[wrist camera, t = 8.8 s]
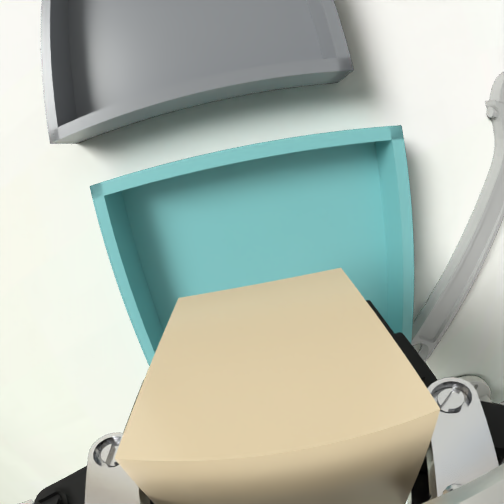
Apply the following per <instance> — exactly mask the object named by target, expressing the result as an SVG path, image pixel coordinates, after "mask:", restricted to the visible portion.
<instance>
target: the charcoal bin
mask: <svg viewBox="0 0 504 504" xmlns="http://www.w3.org/2000/svg"><path fill="white" fill-rule="evenodd" d="M41 63H42V80H43V92H44V102H45V111H46V119H47V126H48V133H49V140H50V144H77V143H79V142H82V141H84V140H87V139H90V138H92V137H95V136H98V135H100V134H103V133H106V132H109V131H111V130H114V129H117V128H120V127H123V126H126V125H129V124H132V123H135V122H138V121H142V120H145V119H148V118H151V117H155V116H158V115H162V114H165V113H169V112H172V111H176V110H180V109H184V108H188V107H192V106H196V105H200V104H204V103H208V102H213V101H217V100H222V99H227V98H231V97H237V96H242V95H247V94H253V93H258V92H264V91H270V90H277V89H284V88H291V87H299V86H307V85H316V84H327V83H338V82H339V81H340V80H342V79H343V78H344V77H346V76H347V75H348V74H349V73H351V72H352V71H353V70H354V69H353V65H352V61H351V57H350V53H349V49H348V46H347V42H346V39H345V35H344V32H343V28H342V25H341V22H340V18H339V15H338V12H337V9H336V6H335V3H334V0H42V6H41Z"/></svg>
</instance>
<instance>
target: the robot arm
mask: <svg viewBox="0 0 504 504" xmlns="http://www.w3.org/2000/svg"><path fill="white" fill-rule="evenodd" d="M366 302H367V303H368V304H369V306H370V307H371V308H372V310H373V311H374V312H375V314H376V315H377V317H378V318H379V319H380V321H381V322H382V323H383V325H384V326H385V328H386V329H387V330H388V332H389V333H390V335H391V336H392V338H393V339H394V340H395V342H396V343H397V345H398V346H399V348H400V349H401V350H402V352H403V353H404V355H405V356H406V358H407V359H408V361H409V362H410V364H411V365H412V366H413V368H414V369H415V371H416V372H417V374H418V375H419V377H420V378H421V380H422V381H423V383H424V384H425V386H426V387H427V389H428V390H429V392H430V394H431V395H432V397H433V398H434V400H435V401H436V403H437V404H438V406H439V407H440V412H439V416H438V419H437V422H436V426H435V429H434V432H433V435H432V438H431V441H430V444H429V447H428V450H427V452H426V455H425V458H424V461H423V463H422V466H421V468H420V471H419V473H418V476H417V478H416V481H415V483H414V485H413V488H412V490H411V492H410V494H409V497H408V504H504V401H503V402H501V403H500V404H496V403H493V402H492V401H491V390H490V387H489V386H488V385H487V383H486V382H485V381H484V380H483V379H481V378H480V377H477V376H463V377H459V378H455V377H448V378H443V379H439V380H437V379H436V377H435V376H434V374H433V373H432V372H431V370H430V369H429V367H428V366H427V365H426V363H425V362H424V361H423V359H422V358H421V357H420V355H419V354H418V353H417V351H416V350H415V349H414V347H413V346H412V345H411V343H410V342H409V341H408V339H407V338H406V337H405V335H404V334H403V333H401V332H398V333H394V332H393V330H392V329H391V328H390V326H389V325H388V324H387V322H386V321H385V320H384V318H383V317H382V316H381V314H380V313H379V312H378V310H377V309H376V308H375V306H374V305H373V304H372V302H371V301H370V300H366ZM143 382H144V381H143ZM142 384H143V383H142ZM141 387H142V385H141ZM140 389H141V388H140ZM139 392H140V390H139ZM138 394H139V393H138ZM137 397H138V395H137ZM136 399H137V398H136ZM135 402H136V401H135ZM134 405H135V403H134ZM133 407H134V406H133ZM132 410H133V408H132ZM131 412H132V411H131ZM130 415H131V414H130ZM129 418H130V416H129ZM128 420H129V419H128ZM127 423H128V422H127ZM126 426H127V424H126ZM125 428H126V427H125ZM124 431H125V429H124ZM123 434H124V432H123V433H110V434H107V435H104V436H103V437H101V438H99V439H98V440H97V441H96V442H95V443H93V445H92V447H91V448H90V450H89V454H88V462H87V466H86V467H84V468H82V469H80V470H78V471H77V472H75V473H73V474H71V475H69V476H67V477H65V478H64V479H62V480H60V481H58V482H56V483H54V484H52V485H50V486H48V487H46V488H45V489H43V490H42V491H41V492H40V493H39V494H38V495H37V497H36V499H35V501H34V502H33V501H32V500H28V501H25V502H22V503H19V504H154V503H153V502H152V501H151V500H150V499H149V497H148V496H147V495H146V494H145V493H144V492H143V491H142V490H141V489H140V488H139V487H138V486H137V484H136V483H135V482H134V481H133V480H132V479H131V478H130V477H129V475H128V474H127V473H126V472H125V471H124V469H123V468H122V467H121V466H120V465H119V463H118V462H117V461H116V460H115V456H116V453H117V450H118V447H119V444H120V442H121V439H122V436H123Z"/></svg>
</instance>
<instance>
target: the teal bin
mask: <svg viewBox="0 0 504 504" xmlns="http://www.w3.org/2000/svg"><path fill="white" fill-rule="evenodd" d="M90 190H91V194H92V198H93V202H94V206H95V210H96V214H97V218H98V222H99V225H100V229H101V232H102V236H103V239H104V243H105V246H106V250H107V253H108V256H109V259H110V263H111V266H112V269H113V272H114V275H115V278H116V281H117V284H118V287H119V290H120V293H121V296H122V298H123V301H124V304H125V307H126V309H127V312H128V315H129V317H130V320H131V323H132V325H133V328H134V330H135V333H136V335H137V338H138V340H139V343H140V345H141V348H142V350H143V352H144V355H145V357H146V359H147V362H148V364H149V366H150V364H151V362H152V359H153V357H154V354H155V352H156V350H157V347H158V345H159V342H160V340H161V338H162V335H163V333H164V331H165V328H166V326H167V324H168V321H169V319H170V317H171V314H172V312H173V310H174V307H175V305H176V303H177V300H178V298H181V297H187V296H193V295H198V294H204V293H210V292H216V291H221V290H227V289H233V288H238V287H244V286H249V285H255V284H260V283H265V282H271V281H276V280H281V279H286V278H292V277H297V276H302V275H307V274H312V273H317V272H322V271H327V270H332V269H337V268H342V270H343V271H344V272H345V274H346V275H347V276H348V277H349V279H350V280H351V281H352V283H353V284H354V285H355V287H356V288H357V289H358V291H359V292H360V293H361V295H362V296H363V297H364V299H365V300H370V301H371V302H372V304H373V305H374V306H375V308H376V309H377V310H378V312H379V313H380V314H381V316H382V317H383V318H384V320H385V321H386V322H387V324H388V325H389V326H390V328H391V329H392V330H393V332H394V333H398V332H401V333H403V334H404V335H405V337H406V338H407V339H408V341H409V342H410V343H411V341H412V326H413V305H414V242H413V221H412V206H411V194H410V184H409V175H408V166H407V159H406V151H405V144H404V138H403V132H402V126H401V125H399V126H385V127H373V128H363V129H353V130H344V131H336V132H328V133H320V134H313V135H306V136H299V137H292V138H286V139H280V140H274V141H268V142H263V143H257V144H252V145H247V146H242V147H237V148H232V149H227V150H222V151H217V152H213V153H208V154H204V155H200V156H195V157H191V158H187V159H183V160H179V161H175V162H171V163H167V164H163V165H159V166H156V167H152V168H148V169H145V170H141V171H138V172H134V173H131V174H127V175H124V176H120V177H117V178H114V179H111V180H107V181H104V182H101V183H98V184H95V185H92V186H90Z"/></svg>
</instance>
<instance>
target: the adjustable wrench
mask: <svg viewBox="0 0 504 504" xmlns="http://www.w3.org/2000/svg"><path fill="white" fill-rule="evenodd" d="M485 104H486V107H487V116H488V117H490V118H491V120H492V124H493V131H494V138H495V148H494V155H493V160H492V163H491V167H490V169H489V172H488V175H487V178H486V180H485V183H484V185H483V188H482V191H481V193H480V196H479V198H478V200H477V203H476V205H475V208H474V210H473V212H472V215H471V217H470V219H469V221H468V224H467V226H466V228H465V230H464V232H463V234H462V237H461V239H460V241H459V243H458V245H457V247H456V249H455V251H454V253H453V255H452V257H451V259H450V261H449V263H448V264H447V266H446V268H445V270H444V272H443V274H442V276H441V278H440V279H439V281H438V283H437V285H436V286H435V288H434V290H433V292H432V293H431V295H430V297H429V299H428V300H427V302H426V304H425V305H424V307H423V309H422V310H421V312H420V313H419V315H418V317H417V318H416V320H415V321H414V323H413V326H412V341H411V345H412V346H414V345H416V344H419V343H421V344H422V346H421V349H420V351H419V352H418V354H419V355H420V357H421V358H422V359H423V361H424V362H425V361H426V360H427V359H428V358H429V356H430V355H431V353H432V352H433V350H434V349H435V347H436V346H437V344H438V343H439V341H440V340H441V338H442V337H443V335H444V333H445V332H446V330H447V329H448V327H449V325H450V324H451V322H452V321H453V319H454V317H455V316H456V314H457V312H458V310H459V309H460V307H461V305H462V303H463V302H464V300H465V298H466V296H467V294H468V293H469V291H470V289H471V287H472V285H473V283H474V281H475V279H476V277H477V275H478V273H479V271H480V269H481V267H482V265H483V263H484V261H485V259H486V257H487V255H488V253H489V250H490V248H491V246H492V244H493V241H494V239H495V237H496V235H497V232H498V230H499V227H500V225H501V222H502V220H503V217H504V72H502V73H501V74H499V76H498V77H497V78H496V79H495V81H494V83H493V86H492V89H491V93H490V99H489V101H485Z"/></svg>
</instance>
